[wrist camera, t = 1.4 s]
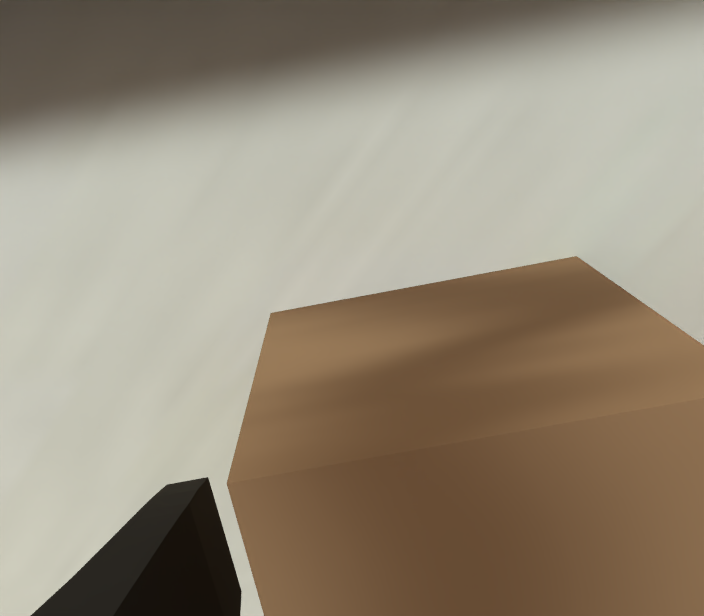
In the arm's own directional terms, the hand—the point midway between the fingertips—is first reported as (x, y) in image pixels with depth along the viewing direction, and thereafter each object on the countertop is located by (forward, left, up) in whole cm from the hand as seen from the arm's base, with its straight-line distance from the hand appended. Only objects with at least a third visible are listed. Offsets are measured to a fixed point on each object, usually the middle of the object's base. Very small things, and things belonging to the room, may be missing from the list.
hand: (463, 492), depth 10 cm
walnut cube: (0, 0, -2) cm, 2 cm away
